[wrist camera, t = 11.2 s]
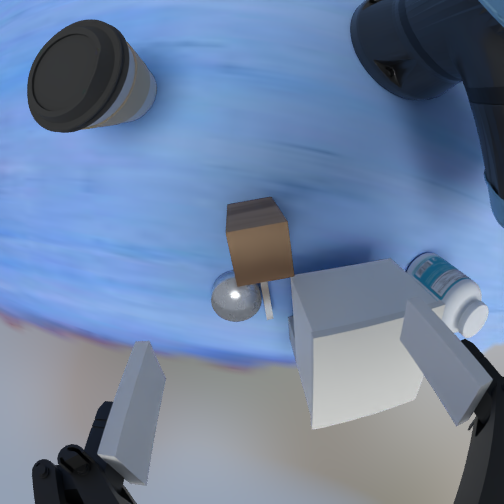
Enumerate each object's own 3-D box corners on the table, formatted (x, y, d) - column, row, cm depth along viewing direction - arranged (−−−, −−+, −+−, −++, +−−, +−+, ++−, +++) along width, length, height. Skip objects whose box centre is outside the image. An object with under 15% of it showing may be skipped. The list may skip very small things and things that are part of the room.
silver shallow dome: (205, 277, 36) (203, 287, 33) (251, 263, 36) (253, 273, 33) (221, 315, 38) (221, 326, 36) (264, 303, 38) (267, 313, 36)
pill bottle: (428, 296, 40) (476, 346, 27) (395, 293, 39) (444, 349, 26) (446, 254, 37) (503, 296, 25) (413, 246, 36) (473, 293, 24)
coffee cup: (85, 125, 27) (2, 129, 13) (106, 54, 24) (36, 17, 10) (153, 137, 29) (93, 141, 15) (177, 62, 26) (136, 10, 12)
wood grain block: (227, 204, 32) (225, 232, 23) (271, 196, 32) (287, 221, 23) (249, 311, 38) (254, 364, 29) (286, 304, 38) (302, 355, 29)
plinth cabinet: (280, 255, 35) (313, 338, 21) (373, 241, 35) (445, 304, 21) (288, 340, 40) (312, 429, 26) (368, 323, 40) (414, 399, 26)
